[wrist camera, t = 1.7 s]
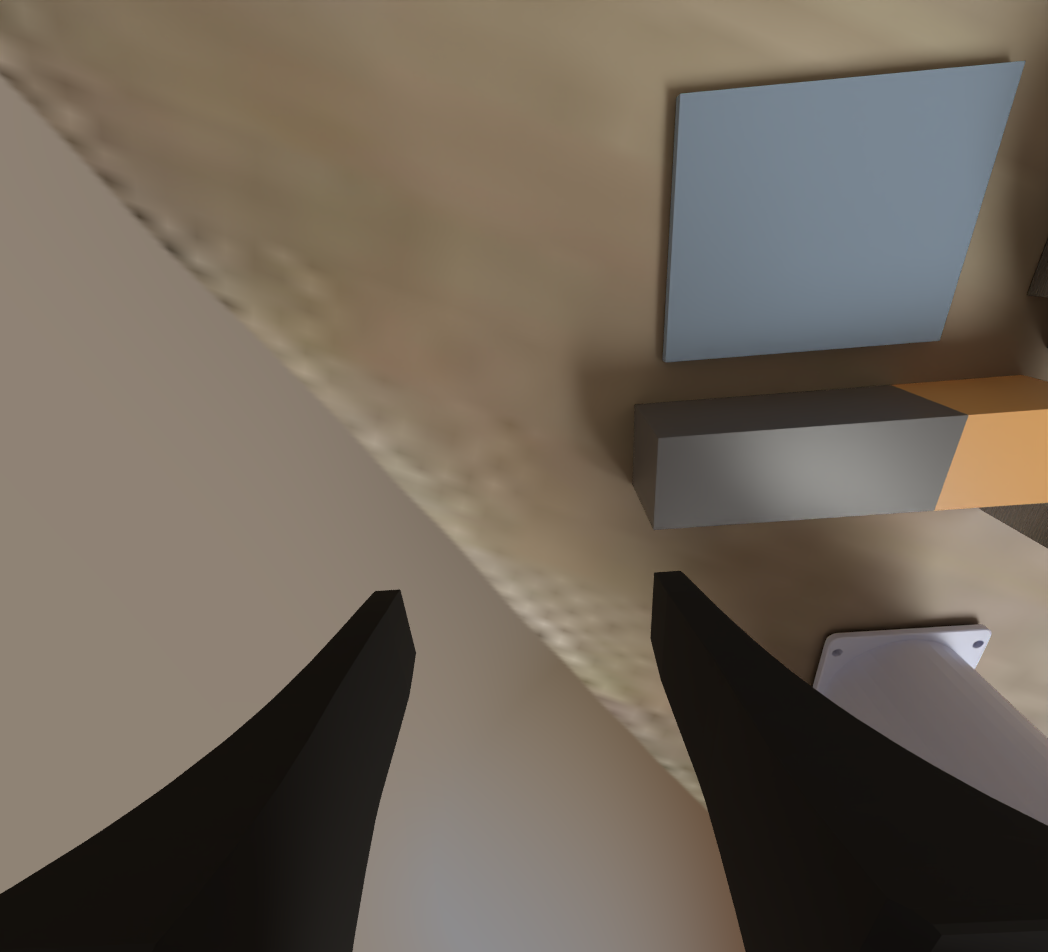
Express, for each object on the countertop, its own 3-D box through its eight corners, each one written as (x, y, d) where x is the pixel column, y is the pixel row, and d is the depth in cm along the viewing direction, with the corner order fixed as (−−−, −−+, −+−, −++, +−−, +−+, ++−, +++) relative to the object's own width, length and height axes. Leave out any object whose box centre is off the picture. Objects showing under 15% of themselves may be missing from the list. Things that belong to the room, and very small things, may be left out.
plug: (987, 458, 20) (1078, 500, 17) (632, 484, 20) (653, 529, 17) (1021, 374, 18) (1128, 403, 15) (634, 404, 19) (658, 438, 16)
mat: (930, 338, 18) (939, 340, 17) (662, 360, 18) (665, 362, 18) (1012, 65, 14) (1025, 61, 14) (676, 97, 14) (680, 93, 14)
